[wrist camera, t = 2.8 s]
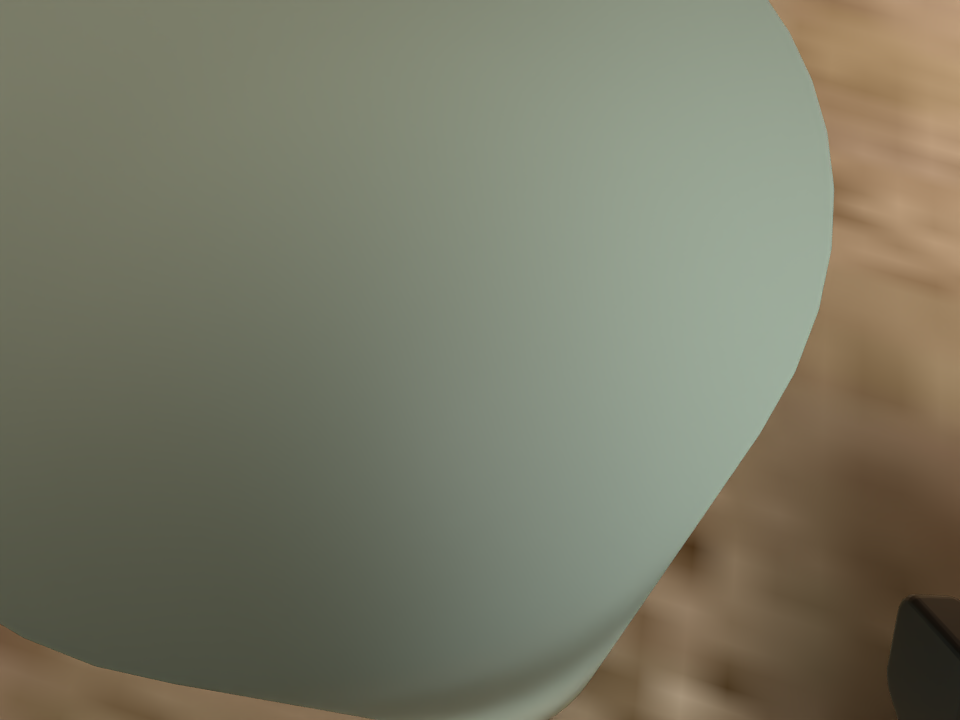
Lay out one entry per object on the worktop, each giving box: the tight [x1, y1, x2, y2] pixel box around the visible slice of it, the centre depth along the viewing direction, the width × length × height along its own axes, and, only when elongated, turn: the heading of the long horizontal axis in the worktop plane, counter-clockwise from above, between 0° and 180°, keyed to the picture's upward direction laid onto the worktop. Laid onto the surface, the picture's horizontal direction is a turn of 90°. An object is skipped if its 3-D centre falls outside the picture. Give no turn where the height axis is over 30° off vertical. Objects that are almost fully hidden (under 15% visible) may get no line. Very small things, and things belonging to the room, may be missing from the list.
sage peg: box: [0, 0, 834, 720], centre depth 11 cm, size 5×5×14 cm
